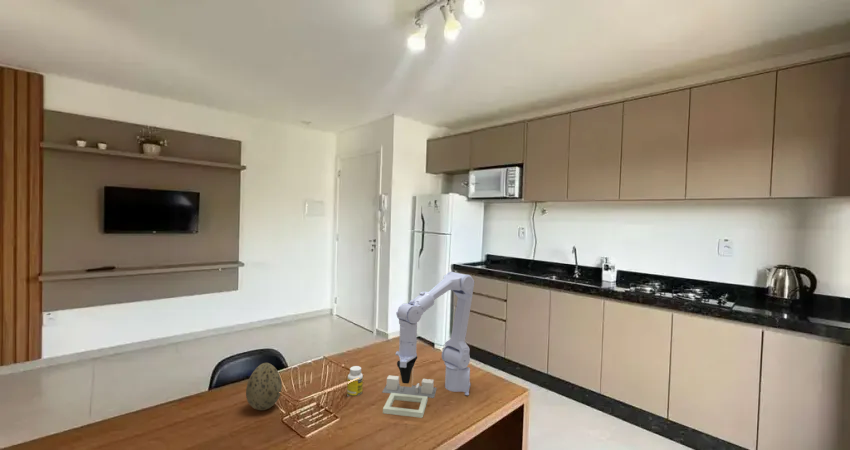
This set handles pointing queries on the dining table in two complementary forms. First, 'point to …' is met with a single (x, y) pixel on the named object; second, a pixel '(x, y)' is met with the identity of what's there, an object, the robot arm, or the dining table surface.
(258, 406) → the decorative egg
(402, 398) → the tray
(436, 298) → the robot arm
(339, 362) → the dining table surface
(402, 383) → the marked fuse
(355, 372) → the supplement bottle
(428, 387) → the block
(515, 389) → the dining table surface
